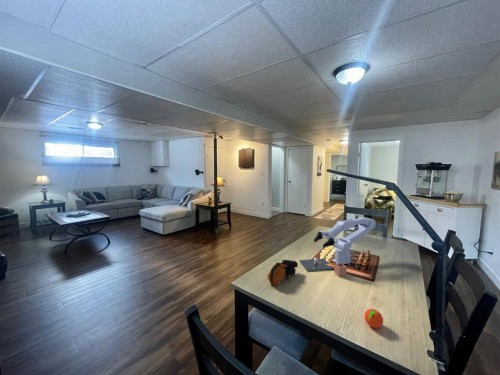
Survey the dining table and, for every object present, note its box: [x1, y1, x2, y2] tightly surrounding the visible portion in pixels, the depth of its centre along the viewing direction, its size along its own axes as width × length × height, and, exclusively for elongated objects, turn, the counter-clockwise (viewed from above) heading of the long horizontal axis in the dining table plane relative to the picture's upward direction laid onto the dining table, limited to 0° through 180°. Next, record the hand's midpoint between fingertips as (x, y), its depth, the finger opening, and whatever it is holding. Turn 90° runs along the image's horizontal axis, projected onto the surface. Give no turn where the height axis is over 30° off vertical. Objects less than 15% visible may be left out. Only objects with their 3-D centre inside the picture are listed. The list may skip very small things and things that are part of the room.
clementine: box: [364, 308, 384, 329], centre depth 90 cm, size 8×7×7 cm
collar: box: [333, 263, 348, 278], centre depth 133 cm, size 5×5×6 cm
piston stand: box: [298, 257, 335, 272], centre depth 144 cm, size 18×14×5 cm
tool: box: [267, 259, 299, 287], centre depth 127 cm, size 8×23×15 cm, turn 135°
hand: (318, 243), depth 138 cm, fingers open, 7 cm apart
